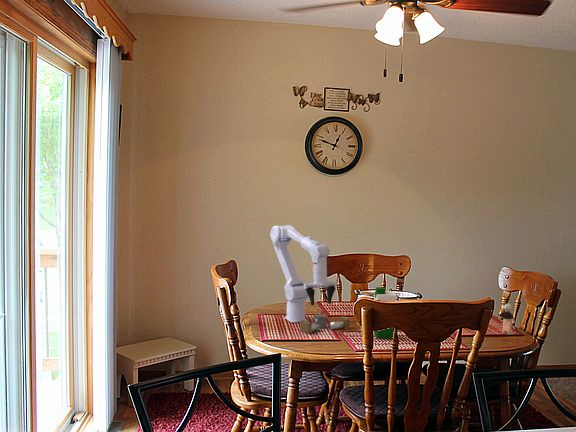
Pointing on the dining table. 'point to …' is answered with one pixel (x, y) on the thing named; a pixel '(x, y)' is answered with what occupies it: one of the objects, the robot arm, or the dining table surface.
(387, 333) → the milk carton
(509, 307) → the grandmother figurine
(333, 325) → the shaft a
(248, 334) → the dining table surface
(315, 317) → the coupler
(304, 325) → the brown lumpy block
